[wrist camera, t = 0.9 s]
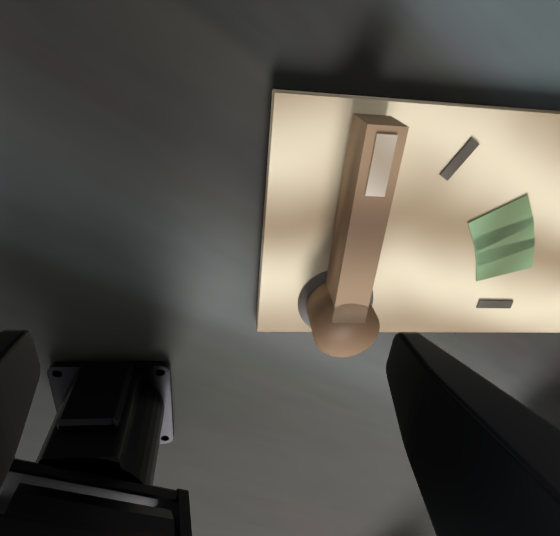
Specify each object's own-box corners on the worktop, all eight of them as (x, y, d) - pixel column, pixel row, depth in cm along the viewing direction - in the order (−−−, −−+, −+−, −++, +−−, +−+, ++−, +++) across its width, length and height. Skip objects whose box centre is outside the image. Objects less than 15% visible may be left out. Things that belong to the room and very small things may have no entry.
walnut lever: (361, 330, 23) (373, 358, 21) (303, 330, 23) (310, 358, 21) (409, 116, 18) (430, 129, 16) (333, 111, 17) (346, 123, 16)
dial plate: (550, 322, 26) (562, 333, 25) (256, 320, 24) (257, 332, 23) (650, 117, 20) (670, 123, 19) (272, 89, 18) (274, 92, 17)
